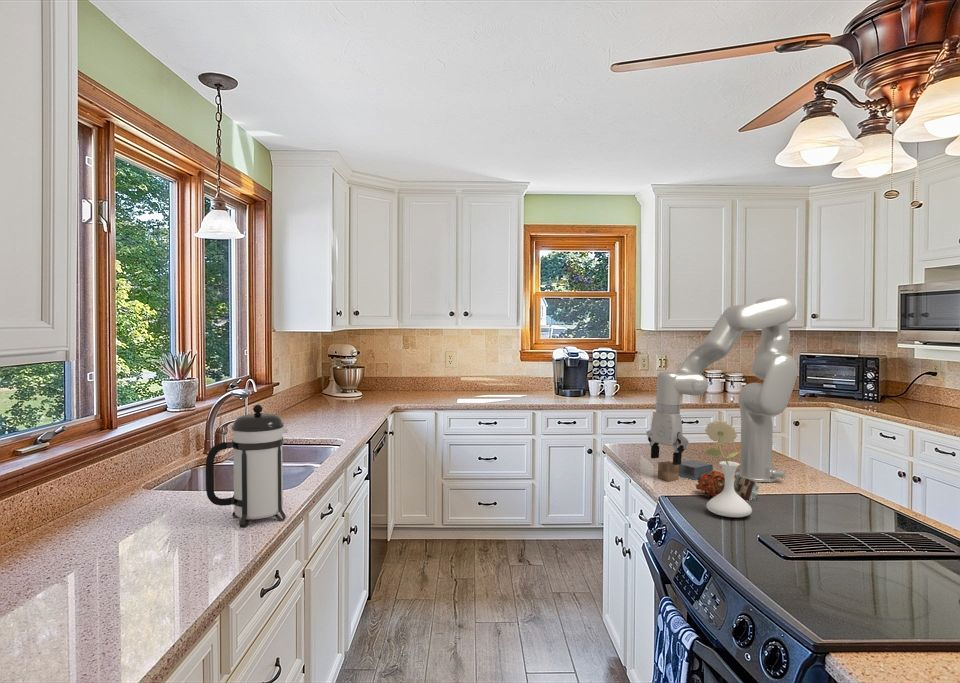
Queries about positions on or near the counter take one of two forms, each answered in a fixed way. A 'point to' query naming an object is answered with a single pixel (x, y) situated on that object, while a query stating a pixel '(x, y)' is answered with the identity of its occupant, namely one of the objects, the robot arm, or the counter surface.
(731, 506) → the flower in vase
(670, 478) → the block
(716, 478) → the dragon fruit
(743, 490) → the chocolate cake
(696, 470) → the gray rectangular block
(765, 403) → the robot arm
